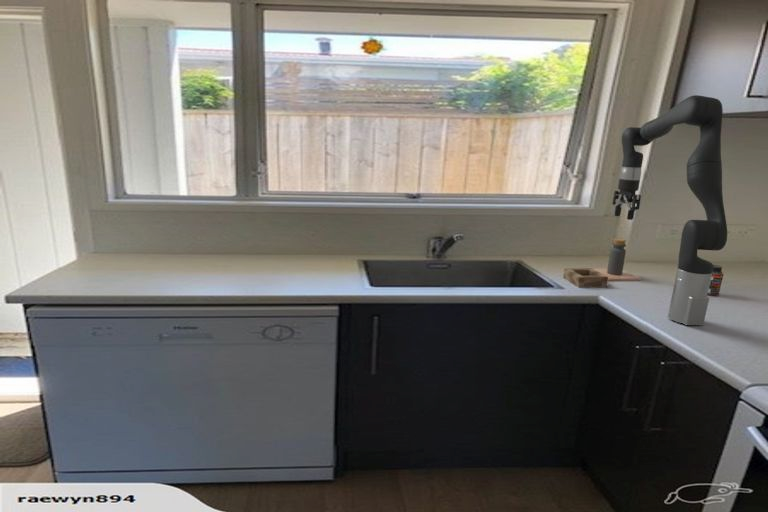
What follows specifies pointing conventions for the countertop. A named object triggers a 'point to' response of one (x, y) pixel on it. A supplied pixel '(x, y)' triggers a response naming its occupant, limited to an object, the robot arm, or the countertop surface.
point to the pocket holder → (585, 277)
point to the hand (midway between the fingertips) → (623, 217)
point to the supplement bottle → (715, 281)
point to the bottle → (617, 257)
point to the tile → (618, 276)
